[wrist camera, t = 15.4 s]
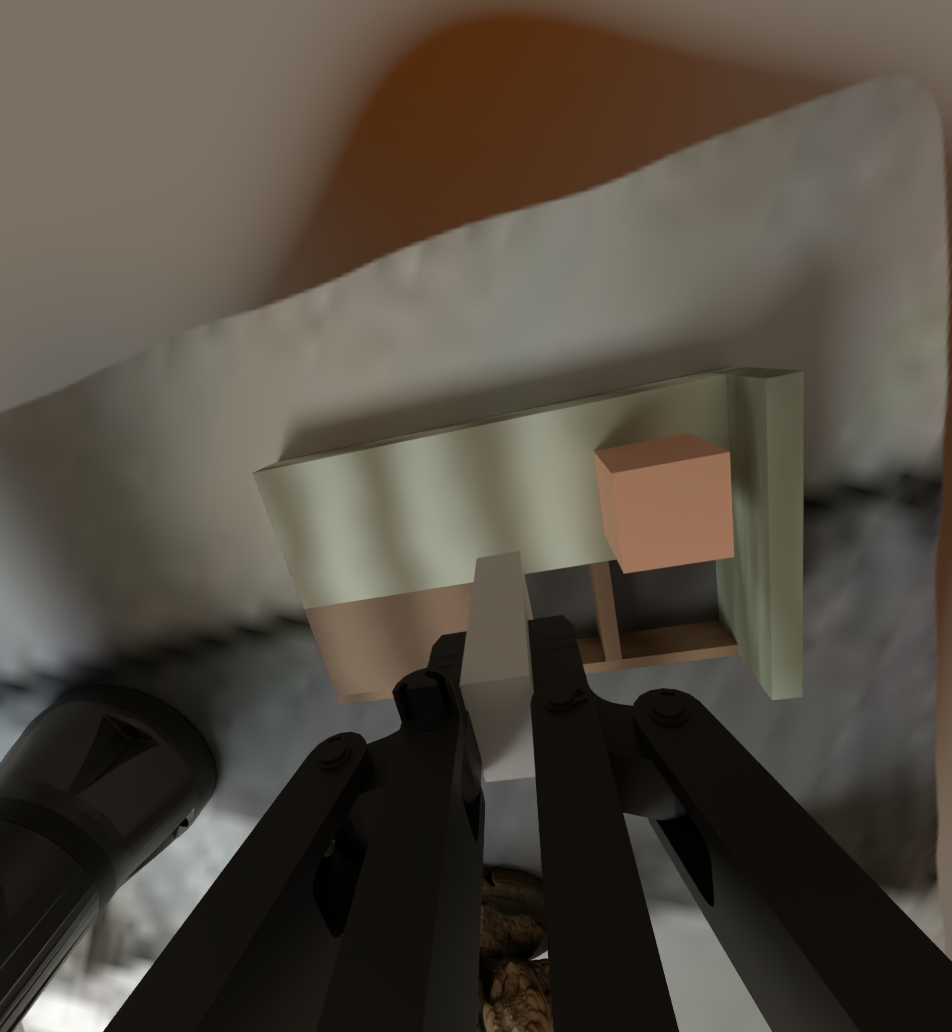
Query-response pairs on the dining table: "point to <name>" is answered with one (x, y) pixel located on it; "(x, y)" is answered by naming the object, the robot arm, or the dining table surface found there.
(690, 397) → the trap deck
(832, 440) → the dining table surface
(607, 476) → the terracotta block
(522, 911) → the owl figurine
